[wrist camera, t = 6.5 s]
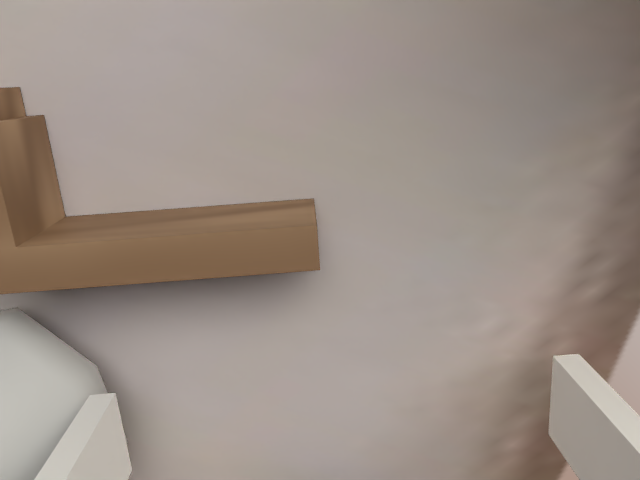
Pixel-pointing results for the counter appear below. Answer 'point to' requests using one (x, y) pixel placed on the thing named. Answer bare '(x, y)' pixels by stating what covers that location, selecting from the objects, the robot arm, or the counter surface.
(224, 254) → the box
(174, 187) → the counter surface
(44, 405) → the flask
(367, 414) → the counter surface
